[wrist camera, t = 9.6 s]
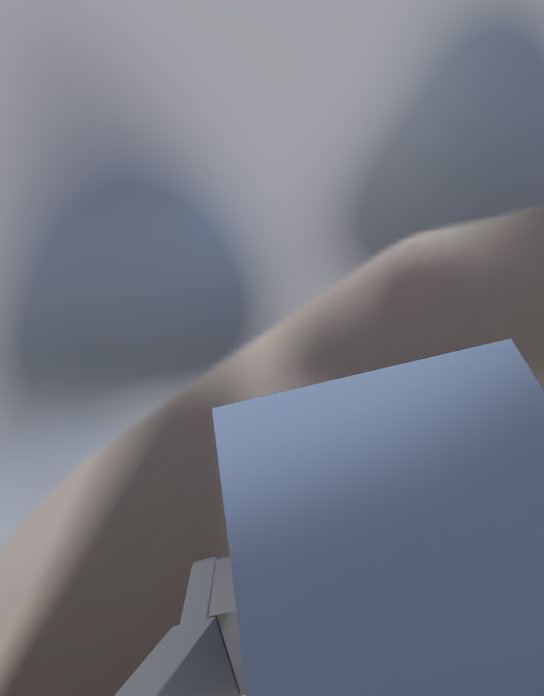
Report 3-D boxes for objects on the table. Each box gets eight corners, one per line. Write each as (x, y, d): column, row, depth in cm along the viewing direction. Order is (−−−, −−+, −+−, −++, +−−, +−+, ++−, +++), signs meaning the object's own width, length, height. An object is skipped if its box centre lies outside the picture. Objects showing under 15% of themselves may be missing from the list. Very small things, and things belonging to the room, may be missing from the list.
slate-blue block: (416, 481, 14) (511, 338, 7) (476, 637, 12) (735, 691, 4) (276, 513, 14) (211, 408, 7) (307, 676, 12) (259, 802, 4)
